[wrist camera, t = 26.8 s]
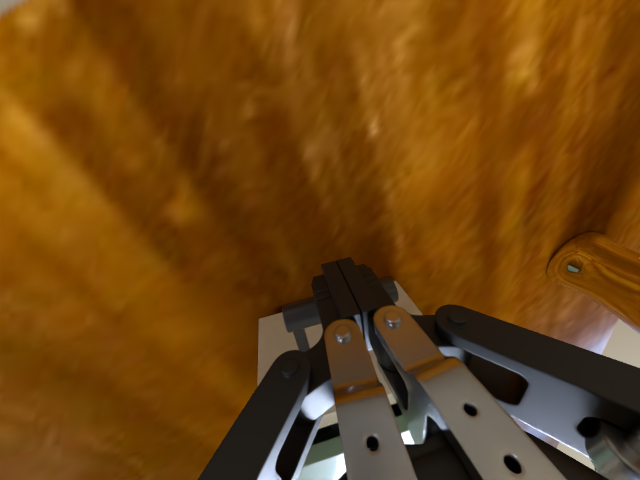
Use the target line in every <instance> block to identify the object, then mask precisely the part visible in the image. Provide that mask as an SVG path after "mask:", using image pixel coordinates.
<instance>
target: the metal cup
mask: <svg viewBox="0 0 640 480" xmlns="http://www.w3.org/2000/svg"><path fill="white" fill-rule="evenodd" d="M547 277H548V279H549V280H550V281H552V282H554V283H556V284H558V285H561V286H563V287H566V288H568V289H571V290H573V291H575V292H578V293H580V294H582V295H584V296H586V297H588V298H590V299H591V300H593V301H595V302H596V303H598V304H600V305H601V306H603V307H604V308H606V309H607V310H608V311H610V312H611V313H612V314H614V315H615V316H616V317H618V318H619V319H620V320H622V321H623V322H624V323H626V324H627V325H628V326H630V327H631V328H632V329H633V330H635V331H636V332H637V333H639V334H640V253H638V252H635V251H633V250H631V249H628V248H626V247H624V246H622V245H621V244H619V243H617V242H615V241H613V240H612V239H610V238H608V237H606V236H604V235H602V234H600V233H597V232H587V233H583V234H581V235H578V236H576V237H574V238H573V239H571V240H570V241H568V242H567V243H566V244H564V245H563V246H562V247H561V248H560V249H559V250H558V251H557V252H556V254H555V255H554V256H553V258H552V259H551V261H550V263H549V265H548V268H547Z"/></svg>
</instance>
